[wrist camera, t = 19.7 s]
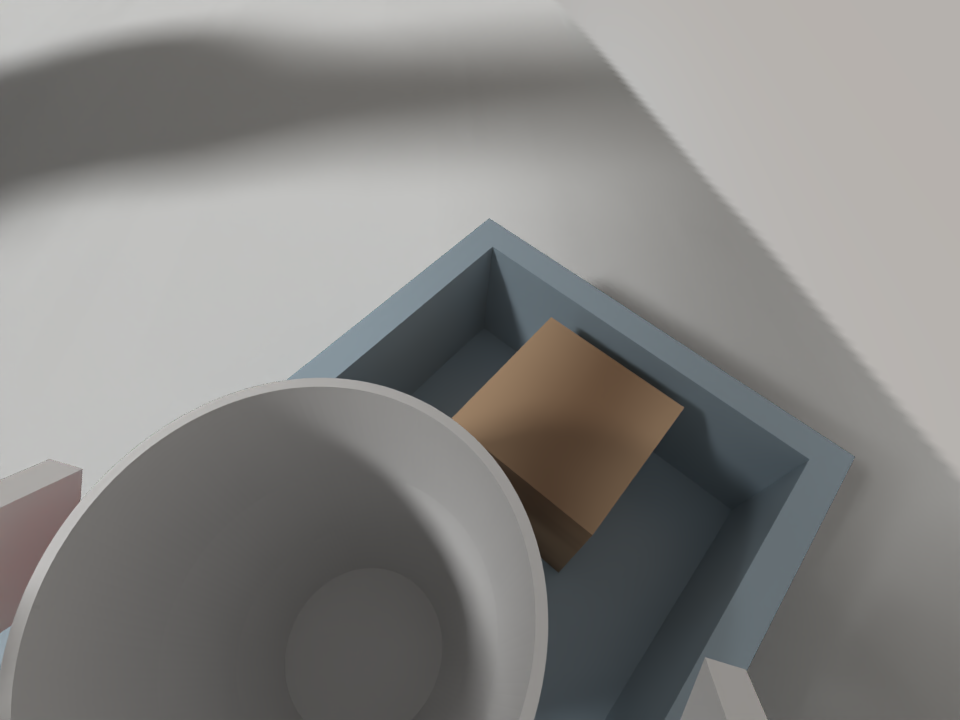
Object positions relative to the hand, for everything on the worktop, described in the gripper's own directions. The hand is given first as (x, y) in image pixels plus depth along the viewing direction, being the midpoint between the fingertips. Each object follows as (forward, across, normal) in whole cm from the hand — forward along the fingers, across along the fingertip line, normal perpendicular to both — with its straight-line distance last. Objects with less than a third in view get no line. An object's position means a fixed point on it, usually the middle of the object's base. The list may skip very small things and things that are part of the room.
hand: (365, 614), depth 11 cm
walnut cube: (+10, +3, 0) cm, 11 cm away
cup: (+5, -1, -6) cm, 7 cm away
